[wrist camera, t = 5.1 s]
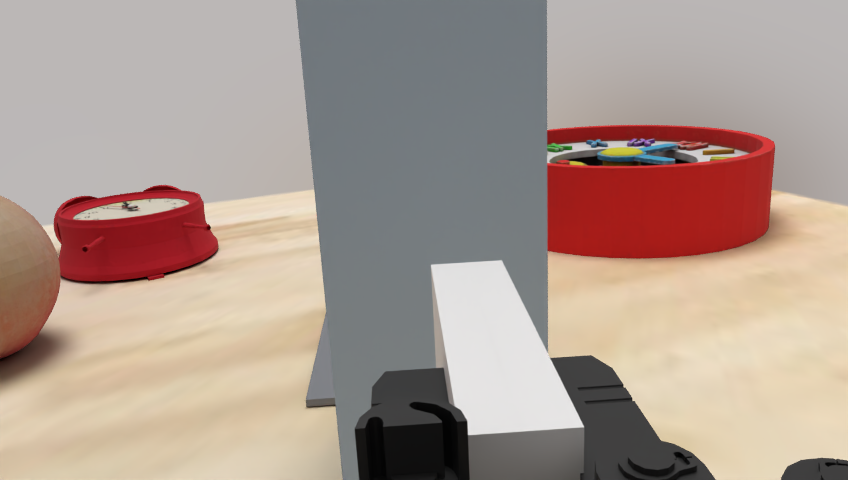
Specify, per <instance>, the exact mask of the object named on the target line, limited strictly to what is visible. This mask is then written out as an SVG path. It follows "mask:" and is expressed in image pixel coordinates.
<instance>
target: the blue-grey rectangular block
mask: <svg viewBox="0 0 848 480" xmlns="http://www.w3.org/2000/svg"><path fill="white" fill-rule="evenodd" d="M296 6H297V18H298V28H299V38H300V48H301V58H302V68H303V79H304V89H305V99H306V109H307V119H308V130H309V140H310V150H311V159H312V170H313V179H314V191H315V201H316V211H317V221H318V231H319V242H320V252H321V262H322V272H323V282H324V292H325V303H326V313H327V323H328V333H329V343H330V353H331V364H332V374H333V384H334V394H335V404H336V415H337V425H338V435H339V445H340V455H341V465H342V476H343V480H359V474H358V462H357V451H356V440H355V427H356V424H357V422H358V420H359V418H360V417H361V416H362V415H363V414H364V413H366V412H367V411H368V410H369V409H371V397H372V386H373V385H374V384H375V383H376V382H377V380H378V379H379V378H380V377H381V376H382V375H383V373H384V372H385V371H399V370H414V369H429V368H436V356H435V337H434V318H433V298H432V279H431V265H434V264H450V263H466V262H482V261H498V260H502V262H503V264H504V266H505V268H506V270H507V272H508V274H509V276H510V278H511V280H512V282H513V284H514V286H515V288H516V290H517V292H518V294H519V296H520V298H521V300H522V302H523V304H524V306H525V308H526V310H527V312H528V314H529V316H530V318H531V320H532V322H533V324H534V326H535V328H536V331H537V333H538V335H539V337H540V339H541V341H542V343H543V345H544V347H545V349H546V351H547V353H548V251H547V0H296Z"/></svg>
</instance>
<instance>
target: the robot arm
mask: <svg viewBox="0 0 848 480" xmlns="http://www.w3.org/2000/svg"><path fill="white" fill-rule="evenodd" d="M431 279H432V298H433V318H434V337H435V356H436V368H429V369H414V370H399V371H385V372H384V373H383V375H382V376H381V377H380V378H379V379H378V380H377V382H376V383H375V384H374V385H373V386H372V397H371V409H369V410H368V411H367V412H366V413H364V414H363V415H362V416H361V417H360V418H359V420H358V422H357V424H356V427H355V440H356V451H357V462H358V474H359V480H715V478H714V477H713V475H712V474H711V473H710V471H709V470H708V469H707V467H706V466H705V464H703V463H702V462H701V461H700V460H699V459H698V458H697V457H696V456H695V455H694V454H693V453H691V452H689V451H687V450H685V449H683V448H681V447H679V446H677V445H675V444H672V443H668V442H664V441H661V440H660V439H659V437H658V436H657V434H656V433H655V431H654V430H653V428H652V427H651V425H650V424H649V422H648V421H647V419H646V418H645V416H644V415H643V413H642V412H641V410H640V409H639V407H638V406H637V404H636V403H635V401H632V397H631V395H630V394H629V392H628V391H627V389H626V388H624V387H623V383H622V382H621V380H620V379H619V377H618V376H617V374H616V373H615V371H614V370H613V368H611V367H609V366H608V365H606V364H604V363H603V362H601V361H600V360H598V359H596V358H595V357H593V356H591V355H590V356H575V357H560V358H550V357H549V355H548V353H547V351H546V349H545V347H544V345H543V343H542V341H541V339H540V337H539V335H538V333H537V331H536V328H535V326H534V324H533V322H532V320H531V318H530V316H529V314H528V312H527V310H526V308H525V306H524V304H523V302H522V300H521V298H520V296H519V294H518V292H517V290H516V288H515V286H514V284H513V282H512V280H511V278H510V276H509V274H508V272H507V270H506V268H505V266H504V264H503V262H502V260H498V261H482V262H466V263H450V264H434V265H431ZM781 480H848V461H846V460H840V459H837V460H835V459H830V458H817V459H807V460H800V461H798V462H796V463H794V464H792V465H790V466H788V467H787V468H786V470H785V472H784V474H783V475H782V477H781Z"/></svg>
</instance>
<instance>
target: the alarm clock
mask: <svg viewBox="0 0 848 480" xmlns="http://www.w3.org/2000/svg"><path fill="white" fill-rule="evenodd" d="M210 229H211V227H210V225H208V224H207V223H206V221H205V214H204V203H203V201H202V199H201V197H200V195H199V194H198V193H195V192H190V191H181V190H180V189H178V188H176V187H173V186H168V185H158V186H153V187H150V188H148V189H146V190H144V191H143V192H135V193H127V194H120V195H114V196H108V197H102V198H95V197H92V196H81V197H76V198H72V199H70V200H68V201H66V202H65V203H63V204H62V205H61V206H60V207H59V208H58V210H57V212H56V214H55V218H54V231H55V234H56V237H57V239H58V240H59V242H60V243H61V244H62V245H61V250H60V256H59V258H58V259H59V264H60V275H61V276H63V277H65V278H68V279H72V280H80V281H114V280H125V279H134V278H141V277H146V276H147V277H148V279H149V280H154V279H159V278H164V275H163V273H166V272H170V271H174V270H177V269H181V268H184V267H187V266H190V265H193V264H195V263H198V262H200V261H202V260H204V259H206V258H208V257H210V256H211V255H213V254H214V253H215V252H216V251H217V249H218V241H217V239H216V237H215V236H214V235H213V234H212V232H211V230H210Z"/></svg>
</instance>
